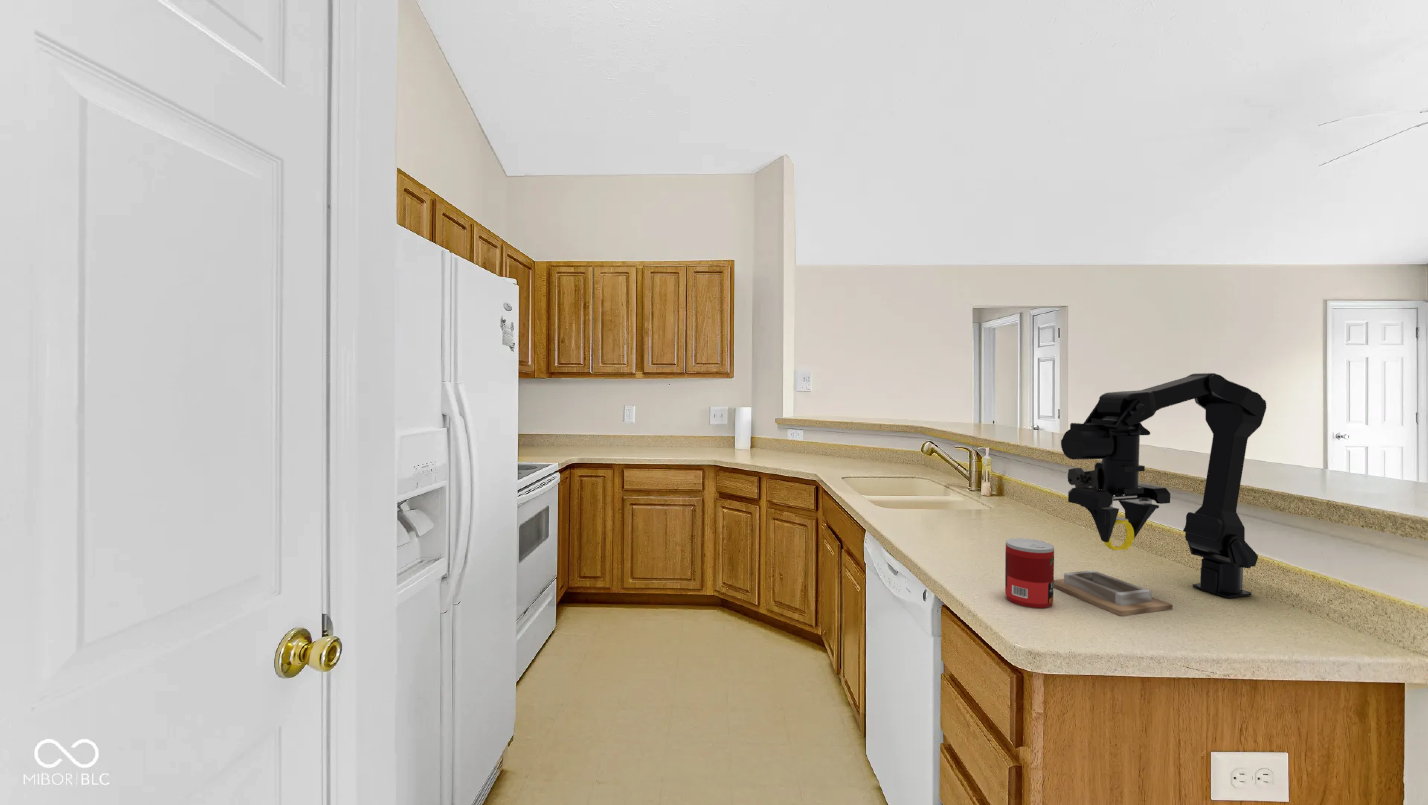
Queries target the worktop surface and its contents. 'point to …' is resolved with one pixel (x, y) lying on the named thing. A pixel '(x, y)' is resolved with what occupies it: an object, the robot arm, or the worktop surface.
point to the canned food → (1029, 572)
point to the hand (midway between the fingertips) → (1117, 540)
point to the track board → (1110, 593)
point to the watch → (1128, 538)
